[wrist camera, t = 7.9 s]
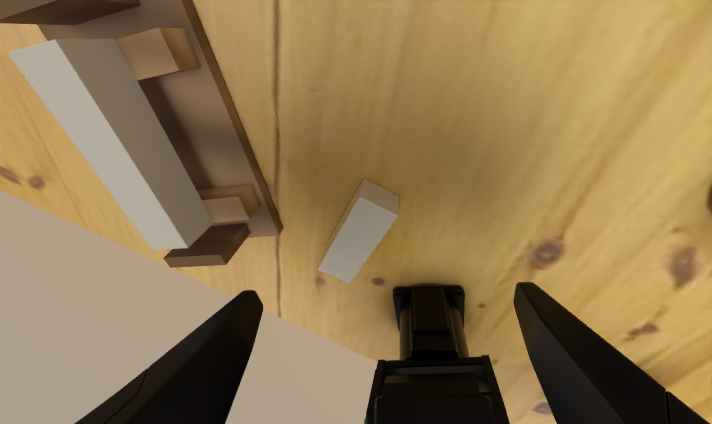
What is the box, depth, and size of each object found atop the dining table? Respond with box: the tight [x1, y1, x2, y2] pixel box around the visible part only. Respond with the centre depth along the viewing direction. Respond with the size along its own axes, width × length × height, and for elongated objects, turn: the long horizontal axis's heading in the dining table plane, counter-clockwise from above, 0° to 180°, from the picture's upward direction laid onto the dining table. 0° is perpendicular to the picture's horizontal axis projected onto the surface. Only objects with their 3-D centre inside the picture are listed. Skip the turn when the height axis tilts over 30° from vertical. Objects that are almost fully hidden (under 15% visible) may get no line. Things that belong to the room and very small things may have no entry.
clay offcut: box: [317, 179, 399, 284], centre depth 22 cm, size 3×8×3 cm, turn 154°
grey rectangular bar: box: [7, 39, 214, 250], centre depth 17 cm, size 12×3×3 cm, turn 10°
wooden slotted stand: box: [0, 0, 283, 268], centre depth 18 cm, size 18×10×5 cm, turn 11°
